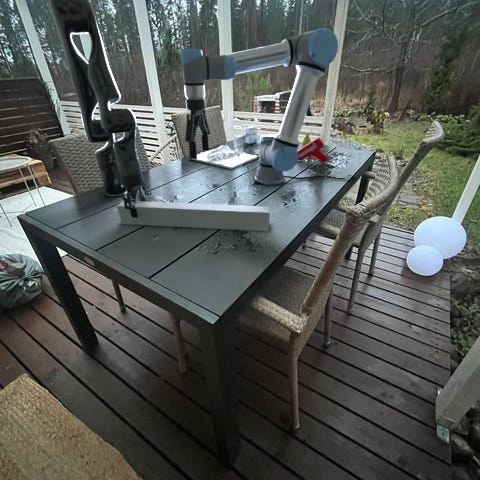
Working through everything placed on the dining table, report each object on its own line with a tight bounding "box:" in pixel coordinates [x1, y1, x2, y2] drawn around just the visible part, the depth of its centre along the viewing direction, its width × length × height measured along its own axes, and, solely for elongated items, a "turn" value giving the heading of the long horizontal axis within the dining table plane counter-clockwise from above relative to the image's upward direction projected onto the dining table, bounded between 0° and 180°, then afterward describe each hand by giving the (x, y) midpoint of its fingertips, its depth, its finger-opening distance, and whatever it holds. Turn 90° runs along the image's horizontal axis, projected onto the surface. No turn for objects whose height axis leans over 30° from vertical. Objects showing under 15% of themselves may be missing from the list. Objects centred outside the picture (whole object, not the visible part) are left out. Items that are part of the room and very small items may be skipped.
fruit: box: [300, 129, 313, 147], centre depth 200 cm, size 7×8×12 cm
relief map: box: [191, 144, 258, 170], centre depth 177 cm, size 27×35×5 cm
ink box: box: [245, 125, 258, 145], centre depth 213 cm, size 8×5×12 cm, turn 135°
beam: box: [116, 200, 271, 232], centre depth 103 cm, size 57×5×8 cm, turn 84°
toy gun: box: [297, 136, 329, 165], centre depth 169 cm, size 18×4×15 cm
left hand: (139, 212), depth 104 cm, fingers open, 8 cm apart
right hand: (199, 154), depth 116 cm, fingers open, 13 cm apart
